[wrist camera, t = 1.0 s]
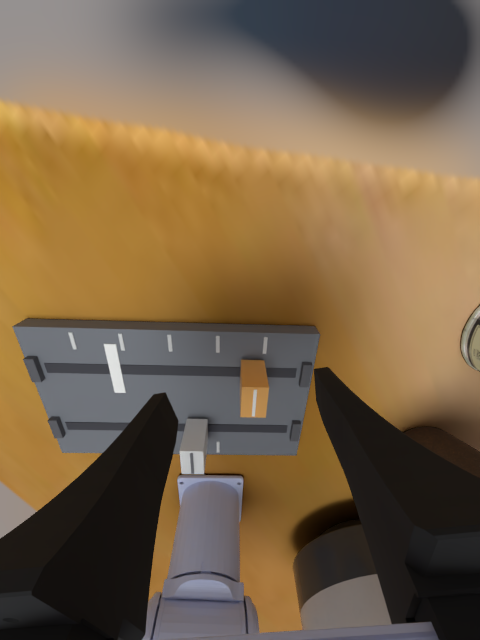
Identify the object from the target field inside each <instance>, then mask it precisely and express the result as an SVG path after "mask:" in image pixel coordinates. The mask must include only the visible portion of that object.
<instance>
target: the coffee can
mask: <svg viewBox="0 0 480 640" xmlns="http://www.w3.org/2000/svg"><path fill="white" fill-rule="evenodd" d="M461 351H462V355H463V357H464V359H465V361H466V362H467V364H468V365H469V366H471V367H472V368H473V369H475V370H477V371H479V372H480V306H479V307H478V308H477V309H476V310H475V311H474V313H473V314H472V316H471V317H470V319H469V320H468V322H467V324H466V326H465V328H464V330H463V334H462V339H461Z"/></svg>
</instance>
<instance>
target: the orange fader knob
mask: <svg viewBox="0 0 480 640" xmlns="http://www.w3.org/2000/svg"><path fill="white" fill-rule="evenodd" d="M268 393H269V384H268V379H267V373H266V367H265V361H264V360H241V371H240V417H254V418H266V411H267V402H268Z"/></svg>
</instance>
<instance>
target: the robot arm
mask: <svg viewBox="0 0 480 640" xmlns="http://www.w3.org/2000/svg"><path fill="white" fill-rule="evenodd" d="M314 375H315V389H316V401H317V405H318V408H319V411H320V414H321V418H322V421H323V424H324V426H325V428H326V431H327V433H328V435H329V438H330V440H331V442H332V445H333V447H334V449H335V452H336V454H337V456H338V459H339V461H340V463H341V466H342V468H343V470H344V473H345V476H346V478H347V481H348V484H349V487H350V490H351V493H352V496H353V499H354V502H355V505H356V508H357V511H358V514H359V518H360V521H361V524H362V527H363V530H364V533H365V536H366V540H367V543H368V546H369V549H370V553H371V556H372V559H373V562H374V566H375V569H376V572H377V576H378V579H379V582H380V586H381V589H382V593H383V596H384V599H385V603H386V606H387V610H388V613H389V617H390V620H391V623H392V624H389V625H374V626H359V627H344V628H329V629H314V630H299V631H284V632H269V633H259V625H258V617H257V611H256V608H255V606H254V604H253V603H252V600H251V598H250V597H249V596H244V584H243V583H242V582H240V537H239V522H240V521H241V509H242V494H243V477H242V476H233V475H180V476H178V479H177V482H178V490H179V499H180V512H179V517H178V523H177V528H176V534H175V539H174V544H173V550H172V555H171V561H170V566H169V572H168V577H167V579H165V581H164V587H163V592H162V593H161V592H156V593H155V594H154V596H153V597H152V598H151V599H150V600H149V601H148V597H149V586H150V578H151V569H152V560H153V552H154V545H155V538H156V531H157V524H158V518H159V512H160V506H161V500H162V496H163V491H164V487H165V483H166V479H167V476H168V472H169V468H170V464H171V460H172V456H173V452H174V448H175V444H176V438H177V431H178V422H179V421H178V418H177V416H176V414H175V412H174V410H173V407H172V405H171V403H170V401H169V399H168V397H167V394H166V392H164V393H158V394H153V396H152V397H151V398H150V399H149V400H148V401H147V403H146V404H145V405H144V406H143V408H142V409H141V410H140V411H139V412H138V414H137V415H136V416H135V417H134V418H133V420H132V421H131V422H130V423H129V424H128V426H127V427H126V428H125V429H124V430H123V432H122V433H121V434H120V435H119V436H118V437H117V438H116V439H115V440H114V441H113V443H112V444H111V445H110V446H109V447H108V448H107V449H106V450H105V451H104V452H103V453H102V454H101V456H100V457H99V458H98V459H97V460H96V461H95V462H94V463H93V464H91V465H90V466H89V467H88V468H87V469H86V470H85V471H84V472H83V473H82V474H81V475H80V476H79V477H78V478H77V479H75V480H74V481H73V482H72V483H71V484H70V485H69V486H67V487H66V488H65V489H64V490H63V491H62V492H61V493H59V494H58V495H57V496H56V497H55V498H54V499H52V500H51V501H50V502H49V503H47V504H46V505H45V506H44V507H42V508H41V509H40V510H39V511H37V512H36V513H35V514H33V515H32V516H31V517H30V518H28V519H27V520H26V521H24V522H23V523H22V524H20V525H19V526H18V527H16V528H15V529H13V530H12V531H11V532H9V533H8V534H6V535H5V536H4V537H2V538H1V539H0V640H480V478H479V477H477V476H475V475H473V474H471V473H469V472H467V471H465V470H463V469H462V468H460V467H458V466H456V465H454V464H453V463H451V462H449V461H447V460H445V459H444V458H442V457H441V456H439V455H437V454H436V453H434V452H432V451H431V450H429V449H427V448H426V447H424V446H423V445H421V444H419V443H418V442H416V441H415V440H413V439H412V438H410V437H409V436H407V435H406V434H404V433H403V432H401V431H400V430H399V429H397V428H396V427H394V426H393V425H392V424H390V423H389V422H388V421H386V420H385V419H384V418H382V417H381V416H380V415H379V414H377V413H376V412H375V411H374V410H373V409H371V408H370V407H369V406H368V405H367V404H365V403H364V402H363V401H362V400H361V399H360V398H359V397H358V396H357V395H355V394H354V393H353V392H352V391H351V390H350V389H349V388H348V387H347V386H346V385H345V384H344V383H343V382H342V381H341V380H340V379H339V378H338V377H337V376H336V375H335V374H334V373H333V372H332V371H331V369H330V368H328V367H324V368H318V369H314Z"/></svg>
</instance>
